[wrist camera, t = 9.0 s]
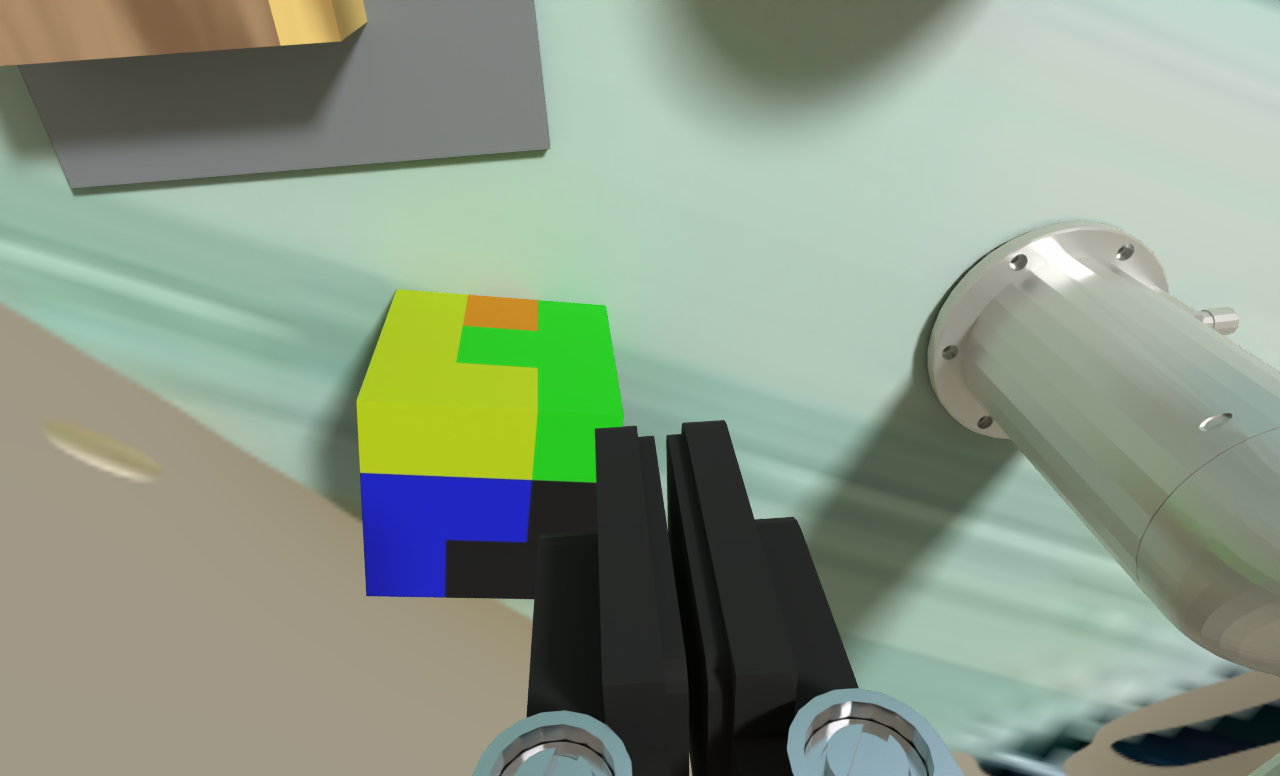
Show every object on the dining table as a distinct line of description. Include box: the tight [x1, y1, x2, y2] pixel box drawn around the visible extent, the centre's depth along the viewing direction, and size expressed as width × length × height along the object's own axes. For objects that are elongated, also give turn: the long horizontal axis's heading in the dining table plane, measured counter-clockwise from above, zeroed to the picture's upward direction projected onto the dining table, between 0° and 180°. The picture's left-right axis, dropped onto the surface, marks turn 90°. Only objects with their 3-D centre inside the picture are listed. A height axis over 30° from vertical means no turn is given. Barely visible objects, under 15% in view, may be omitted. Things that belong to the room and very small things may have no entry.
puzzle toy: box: [356, 289, 624, 599], centre depth 37 cm, size 10×10×10 cm
